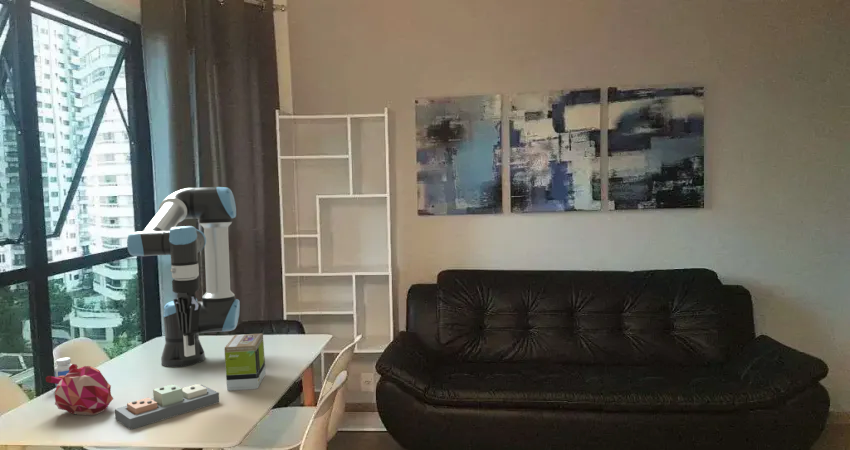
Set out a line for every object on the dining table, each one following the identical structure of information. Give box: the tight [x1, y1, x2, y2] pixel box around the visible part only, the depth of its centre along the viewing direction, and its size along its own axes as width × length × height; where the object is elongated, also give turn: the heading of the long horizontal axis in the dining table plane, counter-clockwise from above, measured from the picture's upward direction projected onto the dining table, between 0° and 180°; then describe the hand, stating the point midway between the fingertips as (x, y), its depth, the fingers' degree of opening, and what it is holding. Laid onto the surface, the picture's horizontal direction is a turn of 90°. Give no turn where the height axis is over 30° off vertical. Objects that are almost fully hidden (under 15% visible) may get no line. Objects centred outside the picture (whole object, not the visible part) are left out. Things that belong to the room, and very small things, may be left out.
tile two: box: [152, 383, 183, 407], centre depth 178 cm, size 6×6×4 cm
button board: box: [114, 384, 220, 430], centre depth 178 cm, size 11×26×3 cm, turn 137°
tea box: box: [224, 333, 267, 392], centre depth 201 cm, size 15×10×15 cm, turn 5°
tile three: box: [126, 397, 157, 415], centre depth 172 cm, size 6×6×4 cm
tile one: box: [181, 383, 207, 399], centre depth 183 cm, size 6×6×4 cm
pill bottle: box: [54, 356, 72, 388], centre depth 199 cm, size 6×5×10 cm
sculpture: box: [45, 363, 114, 416], centre depth 179 cm, size 14×12×20 cm
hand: (189, 355), depth 182 cm, fingers closed
